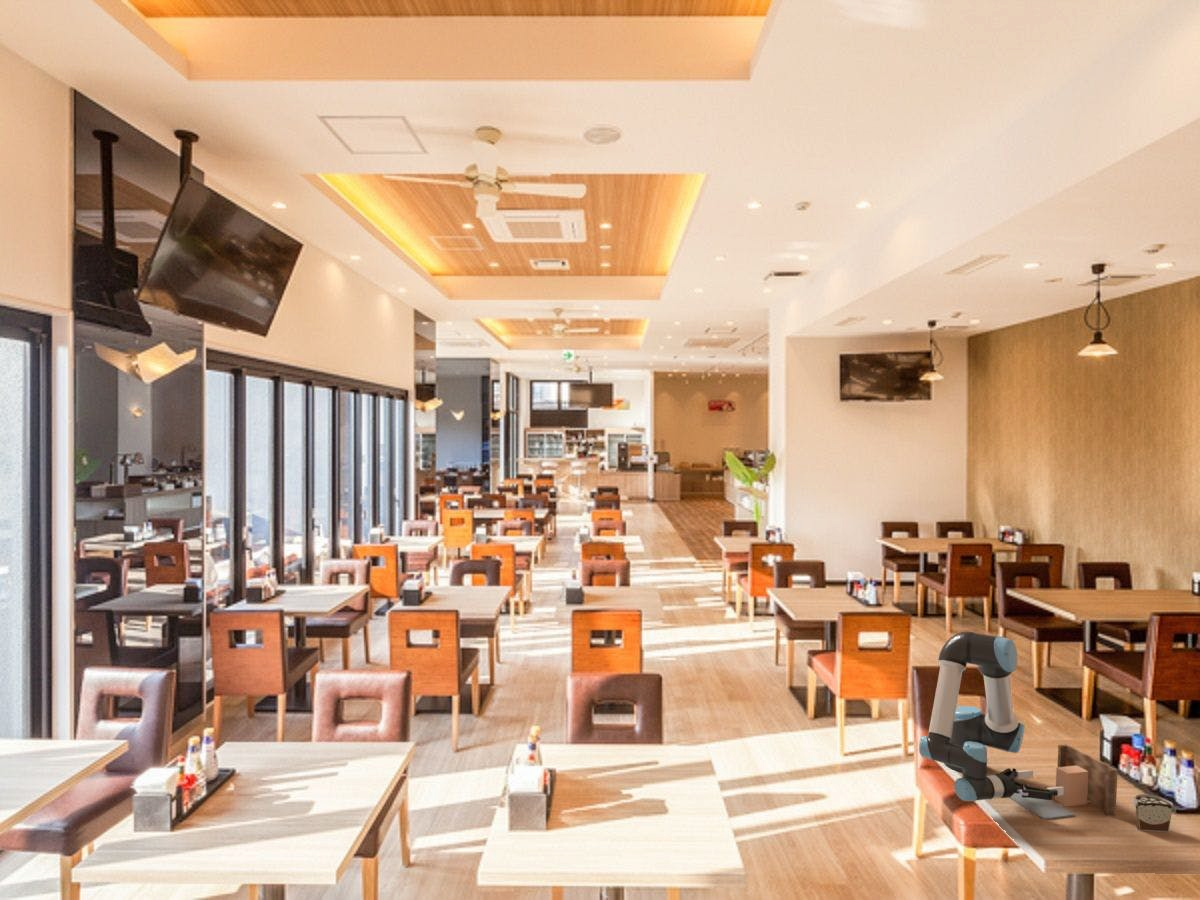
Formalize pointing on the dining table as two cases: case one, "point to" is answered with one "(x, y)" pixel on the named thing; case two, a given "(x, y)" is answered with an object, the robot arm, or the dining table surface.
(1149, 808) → the food container
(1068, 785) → the carton
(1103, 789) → the brown wooden board
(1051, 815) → the slate mat
